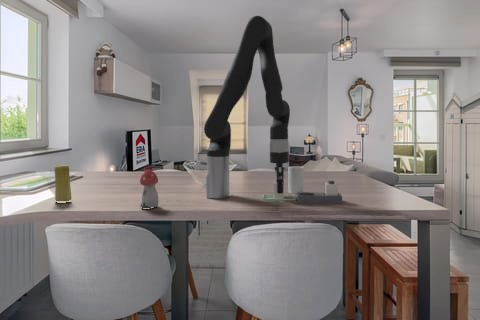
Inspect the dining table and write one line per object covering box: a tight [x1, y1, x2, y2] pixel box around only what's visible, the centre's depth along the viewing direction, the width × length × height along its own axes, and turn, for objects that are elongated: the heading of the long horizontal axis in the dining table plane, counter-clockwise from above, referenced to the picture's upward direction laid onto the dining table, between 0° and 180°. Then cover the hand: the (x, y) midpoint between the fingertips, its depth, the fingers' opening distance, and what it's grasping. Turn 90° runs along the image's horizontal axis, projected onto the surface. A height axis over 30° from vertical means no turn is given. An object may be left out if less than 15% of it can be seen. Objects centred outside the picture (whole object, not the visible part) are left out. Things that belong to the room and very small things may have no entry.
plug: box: [273, 178, 285, 199], centre depth 157 cm, size 4×4×8 cm
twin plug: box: [324, 180, 339, 196], centre depth 148 cm, size 4×4×8 cm
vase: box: [54, 165, 73, 201], centre depth 156 cm, size 6×6×14 cm
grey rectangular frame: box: [296, 192, 343, 205], centre depth 149 cm, size 16×7×4 cm, turn 86°
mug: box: [287, 165, 305, 195], centre depth 171 cm, size 10×7×12 cm, turn 167°
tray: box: [261, 194, 297, 203], centre depth 157 cm, size 13×9×2 cm
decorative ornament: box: [139, 166, 160, 208], centre depth 145 cm, size 9×6×15 cm
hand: (279, 191), depth 157 cm, fingers open, 8 cm apart
